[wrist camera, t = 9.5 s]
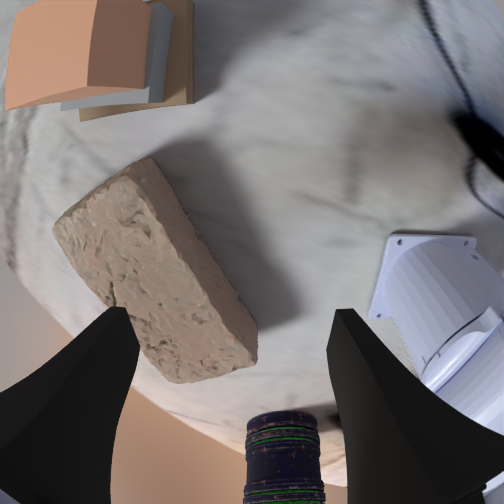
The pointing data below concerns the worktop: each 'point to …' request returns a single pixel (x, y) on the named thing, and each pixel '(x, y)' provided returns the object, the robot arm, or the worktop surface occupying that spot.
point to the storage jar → (283, 459)
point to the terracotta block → (76, 50)
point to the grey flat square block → (153, 69)
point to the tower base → (177, 68)
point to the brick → (158, 275)
